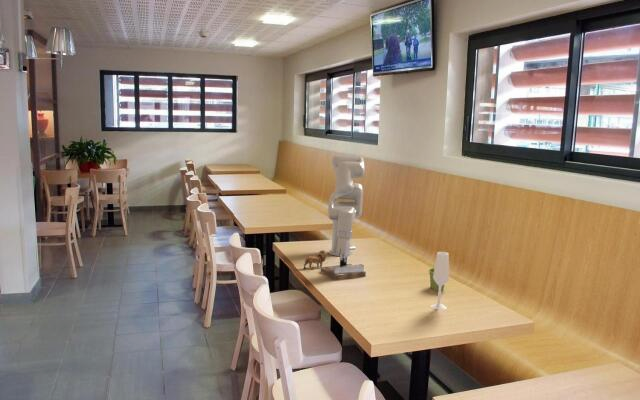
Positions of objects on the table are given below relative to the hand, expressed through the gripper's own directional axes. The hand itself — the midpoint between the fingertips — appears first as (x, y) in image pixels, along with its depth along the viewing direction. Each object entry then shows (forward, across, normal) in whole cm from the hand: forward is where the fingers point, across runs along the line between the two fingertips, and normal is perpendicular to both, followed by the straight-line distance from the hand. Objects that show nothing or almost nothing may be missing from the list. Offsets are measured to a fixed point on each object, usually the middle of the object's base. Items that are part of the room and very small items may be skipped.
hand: (343, 268), depth 259 cm
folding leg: (+1, +2, +3) cm, 4 cm away
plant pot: (+3, 0, +47) cm, 47 cm away
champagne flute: (+3, +26, +50) cm, 56 cm away
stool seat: (+4, -2, 0) cm, 4 cm away
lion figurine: (+4, -7, -17) cm, 19 cm away
